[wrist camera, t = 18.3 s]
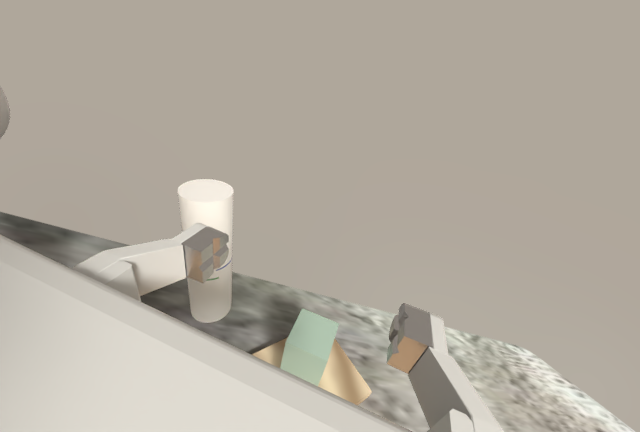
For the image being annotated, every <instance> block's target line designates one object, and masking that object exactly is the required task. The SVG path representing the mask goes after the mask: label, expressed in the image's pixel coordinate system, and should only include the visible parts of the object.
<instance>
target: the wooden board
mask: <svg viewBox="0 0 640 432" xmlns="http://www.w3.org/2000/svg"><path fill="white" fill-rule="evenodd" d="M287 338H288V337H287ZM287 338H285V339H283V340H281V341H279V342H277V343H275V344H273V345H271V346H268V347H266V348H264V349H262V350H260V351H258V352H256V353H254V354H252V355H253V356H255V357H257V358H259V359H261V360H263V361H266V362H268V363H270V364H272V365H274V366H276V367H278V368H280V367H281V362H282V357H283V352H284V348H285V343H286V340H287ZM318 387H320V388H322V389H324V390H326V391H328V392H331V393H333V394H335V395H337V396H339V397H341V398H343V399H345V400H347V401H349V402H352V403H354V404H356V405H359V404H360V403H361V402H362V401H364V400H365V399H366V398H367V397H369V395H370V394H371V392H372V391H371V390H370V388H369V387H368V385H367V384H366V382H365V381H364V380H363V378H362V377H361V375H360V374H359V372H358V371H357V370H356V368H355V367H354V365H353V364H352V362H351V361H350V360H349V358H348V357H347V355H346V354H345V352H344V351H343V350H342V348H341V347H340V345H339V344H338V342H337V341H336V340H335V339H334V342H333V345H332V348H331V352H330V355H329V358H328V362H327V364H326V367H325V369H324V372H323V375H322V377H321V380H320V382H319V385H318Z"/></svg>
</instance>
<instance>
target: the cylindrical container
mask: <svg viewBox="0 0 640 432" xmlns="http://www.w3.org/2000/svg"><path fill="white" fill-rule="evenodd" d="M178 200H179V209H180V218H181V227H182V232H183V231H185V230H186V229H188V228H189V227H191V226H193V225H194V224H196V223H201V224H204V225H206V226H209V227H212V228H214V229H216V230H219V231H221V232H223V233H226V234H227V235H229V242H228V243H227V244H226V245H227V247H228V248H229V254H228V257H227V259H226V261H225V263H224V264H223V265H222V266H221V267H220V268H217V269H214V272H213V275H211V276H210V277H209V278H208V279H207V280H206V281H205V282H204V283H201V282H198V281H196V280H193V279H191V278H188V277H187V281H188V290H189V299H190V308H191V314H192V316H193V317H194V318H195V319H196V320H197V321H200V322H204V323H211V322H215V321H218V320H220V319H222V318H223V317H225V316H226V315H227V314H228V312H229V311H230V308H231V298H232V239H233V188H232V187H231V186H230V185H228V184H227V183H224V182H221V181H218V180H211V179H199V180H192V181H188V182H186V183H184V184H182V185H180V186H179V188H178Z"/></svg>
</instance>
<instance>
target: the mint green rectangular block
mask: <svg viewBox="0 0 640 432" xmlns="http://www.w3.org/2000/svg"><path fill="white" fill-rule="evenodd" d="M338 325H339V323H336V322H334V321H331V320H329V319H327V318H324V317H322V316H319V315H317V314H315V313H312V312H310V311H308V310H305V309H303V308H302V310H301V312H300V314H299V316H298V318H297V320H296V322H295V324H294V326H293V328H292V330H291V332H290V334H289V336H288V338H287V340H286V343H285V348H284V352H283V357H282V362H281V367H280V369H282V370H284V371H287V372H289V373H291V374H293V375H295V376H297V377H299V378H301V379H303V380H305V381H308V382H310V383H312V384H314V385H316V386H318V385H319V382H320V380H321V377H322V375H323V372H324V369H325V367H326V364H327V362H328V358H329V355H330V352H331V348H332V345H333V342H334V339H335V335H336V332H337V329H338Z"/></svg>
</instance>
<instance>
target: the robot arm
mask: <svg viewBox="0 0 640 432" xmlns="http://www.w3.org/2000/svg"><path fill="white" fill-rule="evenodd" d="M9 120H10V109H9V104H8V101H7V98H6V96H5V94H4V92H3V90H2V88H1V87H0V138H1V137H2V136H3V135H4V133H5V131H6V129H7V127H8V124H9ZM228 242H229V235H227V234H226V233H223V232H221V231H219V230H216V229H214V228H212V227H209V226H206V225H204V224H201V223H196V224H194V225H193V226H191V227H189V228H188V229H186V230H185V231H183V232H181V233H180V234H178V235H177V236H176V237H174V238H172V239H162V240H157V241H152V242H146V243H141V244H136V245H131V246H125V247H120V248H115V249H110V250H104V251H102V252H100V253H98V254H96V255H94V256H93V257H91V258H89V259H87V260H85V261H83V262H81V263H79V264H77V265H76V266H74V267H72V268H69V267H67V266H65V265H63V264H61V263H58V262H56V261H54V260H52V259H50V258H48V257H46V256H44V255H42V254H40V253H38V252H35V251H33V250H31V249H29V248H27V247H25V246H23V245H21V244H19V243H17V242H15V241H12V240H10V239H8V238H6V237H4V236H2V235H0V432H412V431H410V430H408V429H406V428H404V427H402V426H400V425H398V424H396V423H393V422H391V421H389V420H387V419H385V418H383V417H381V416H379V415H377V414H375V413H372V412H370V411H368V410H366V409H364V408H362V407H360V406H358V405H356V404H354V403H352V402H349V401H347V400H345V399H343V398H341V397H339V396H337V395H335V394H333V393H331V392H328V391H326V390H324V389H322V388H320V387H318V386H316V385H314V384H312V383H310V382H308V381H305V380H303V379H301V378H299V377H297V376H295V375H293V374H291V373H289V372H287V371H284V370H282V369H280V368H278V367H276V366H274V365H272V364H270V363H268V362H266V361H263V360H261V359H259V358H257V357H255V356H253V355H251V354H249V353H247V352H245V351H243V350H240V349H238V348H236V347H234V346H232V345H230V344H228V343H226V342H224V341H222V340H220V339H217V338H215V337H213V336H211V335H209V334H207V333H205V332H203V331H201V330H199V329H196V328H194V327H192V326H190V325H188V324H186V323H184V322H182V321H180V320H178V319H176V318H173V317H171V316H169V315H167V314H165V313H163V312H161V311H159V310H157V309H155V308H153V307H150V306H148V305H146V304H144V303H142V302H141V298H140V296H142V295H144V294H147V293H149V292H152V291H154V290H157V289H159V288H162V287H164V286H167V285H169V284H172V283H174V282H177V281H179V280H182V279H184V278H186V277H188V278H191V279H193V280H196V281H198V282H201V283H204V282H205V281H206V280H207V279H208V278H209V277H210V276H211V275H213V272H214V269H217V268H220V267H221V266H222V265H223V264H224V263H225V261H226V259H227V257H228V254H229V248H228V247H227V245H226V244H227V243H228ZM389 340H390V342H391V344H390V345H389V347H388V353H387V364H388V365H390V366H392V367H394V368H397V369H399V370H401V371H403V372H405V373H407V374H408V377H409V379H410V381H411V384H412V386H413V389H414V391H415V393H416V396H417V398H418V401H419V403H420V405H421V408H422V410H423V413H424V415H425V417H426V420H427V422H428V425H429V427H430V430H429V431H427V432H504V430H503V429H502V427H501V426H500V425H499V423H498V422H497V420H496V419H495V417H494V416H493V414H492V413H491V412H490V410H489V409H488V407H487V406H486V404H485V403H484V401H483V400H482V399H481V397H480V396H479V394H478V393H477V391H476V390H475V388H474V387H473V386H472V384H471V383H470V381H469V380H468V378H467V377H466V376H465V374H464V373H463V371H462V370H461V368H460V367H459V365H458V364H457V363H456V361H455V360H454V358H453V357H452V356H450V355H448V349H447V342H446V336H445V329H444V322H443V319H442V317H440V316H437V315H434V314H432V313H429V312H426V311H424V310H421V309H418V308H416V307H413V306H410V305H408V304H405V303H403V304H402V305H401V307H400V308H399V315H396V316H395V317H394V319H393V321H392V324H391V327H390V332H389Z"/></svg>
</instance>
